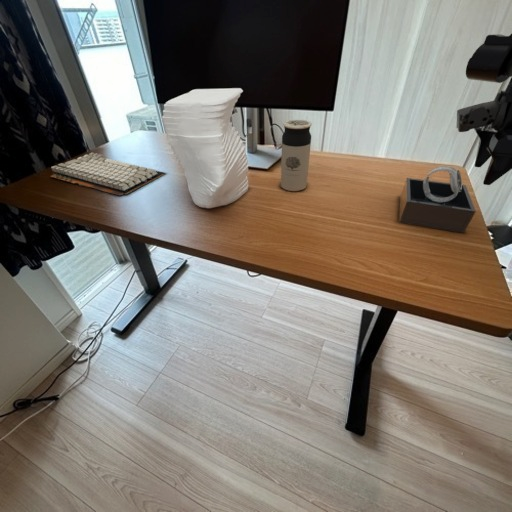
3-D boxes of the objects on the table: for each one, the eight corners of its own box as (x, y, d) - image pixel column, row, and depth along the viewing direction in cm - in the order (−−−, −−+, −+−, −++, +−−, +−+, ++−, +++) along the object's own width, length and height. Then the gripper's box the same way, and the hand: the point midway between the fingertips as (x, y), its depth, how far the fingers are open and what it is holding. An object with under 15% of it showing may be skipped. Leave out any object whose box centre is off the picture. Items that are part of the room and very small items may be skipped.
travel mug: (287, 178, 87) (290, 118, 76) (310, 183, 84) (317, 121, 72) (276, 188, 82) (277, 125, 71) (299, 194, 79) (304, 128, 67)
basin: (455, 205, 71) (465, 185, 68) (463, 233, 62) (476, 211, 58) (399, 197, 76) (406, 177, 72) (399, 222, 66) (407, 201, 62)
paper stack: (259, 180, 87) (257, 88, 70) (226, 225, 67) (211, 112, 51) (201, 173, 92) (186, 86, 76) (155, 213, 73) (121, 108, 57)
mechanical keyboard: (166, 173, 94) (163, 164, 91) (123, 198, 81) (119, 187, 79) (93, 159, 107) (90, 150, 105) (47, 178, 95) (42, 168, 93)
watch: (446, 220, 65) (468, 176, 57) (411, 210, 68) (427, 168, 61) (450, 210, 68) (472, 168, 61) (416, 201, 72) (432, 161, 65)
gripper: (464, 78, 54) (433, 155, 64) (483, 95, 41) (441, 188, 51) (532, 78, 51) (489, 160, 61) (577, 98, 38) (512, 198, 48)
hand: (481, 175), depth 55 cm, fingers open, 9 cm apart
